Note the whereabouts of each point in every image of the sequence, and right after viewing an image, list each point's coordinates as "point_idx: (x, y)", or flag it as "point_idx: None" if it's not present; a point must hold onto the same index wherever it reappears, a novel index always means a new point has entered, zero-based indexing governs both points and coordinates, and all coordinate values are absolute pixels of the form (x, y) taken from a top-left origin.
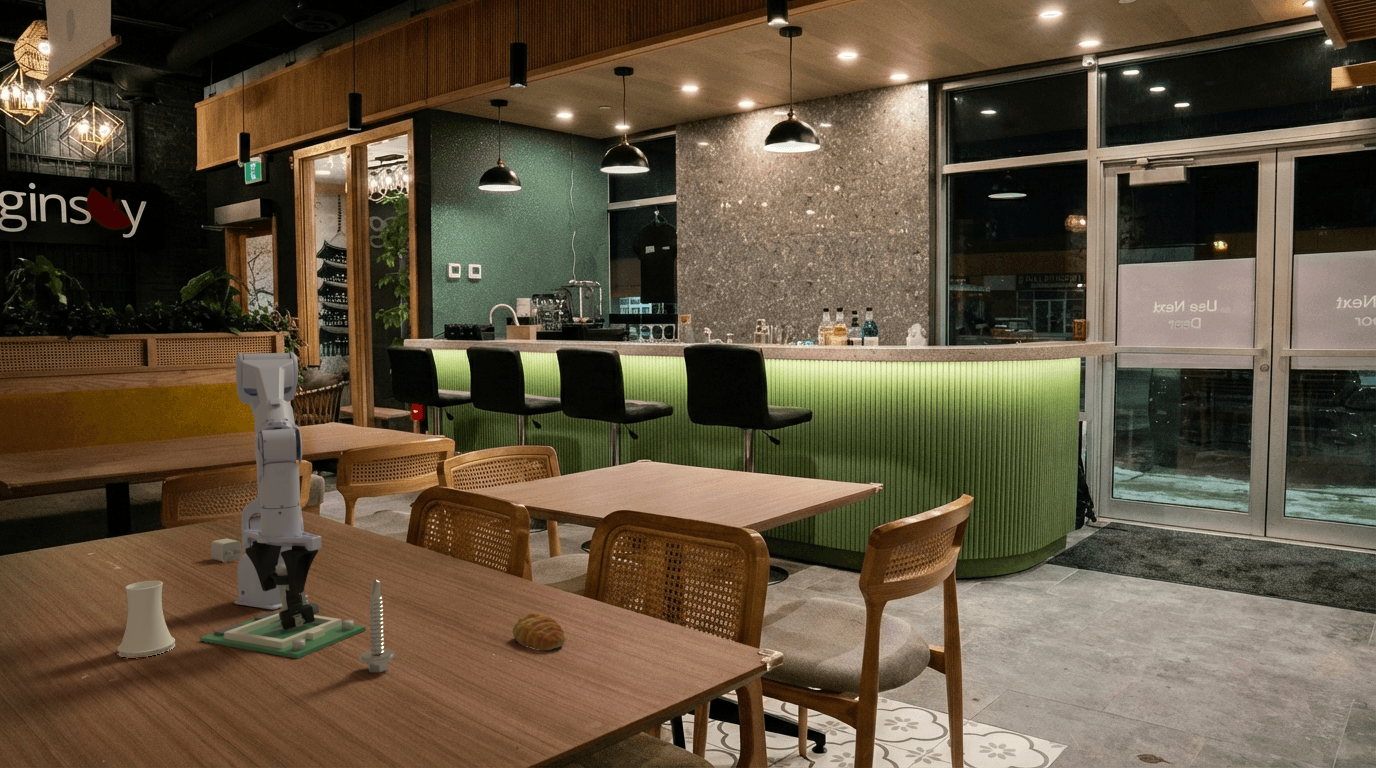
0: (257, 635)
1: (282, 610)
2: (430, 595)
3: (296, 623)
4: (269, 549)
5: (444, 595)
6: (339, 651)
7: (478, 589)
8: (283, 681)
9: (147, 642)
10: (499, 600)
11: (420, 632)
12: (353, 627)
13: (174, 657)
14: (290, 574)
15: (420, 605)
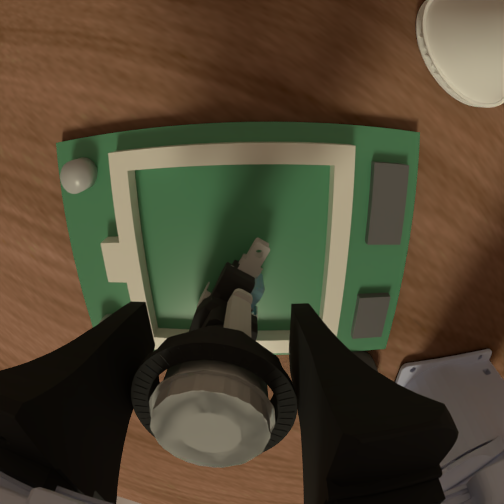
0: (227, 162)
1: (236, 289)
2: (185, 474)
3: (207, 285)
4: (315, 490)
5: (167, 475)
6: (34, 221)
7: (152, 489)
8: (5, 52)
9: (447, 3)
10: None
11: (30, 351)
12: None
13: (367, 14)
14: (81, 344)
15: (153, 447)
